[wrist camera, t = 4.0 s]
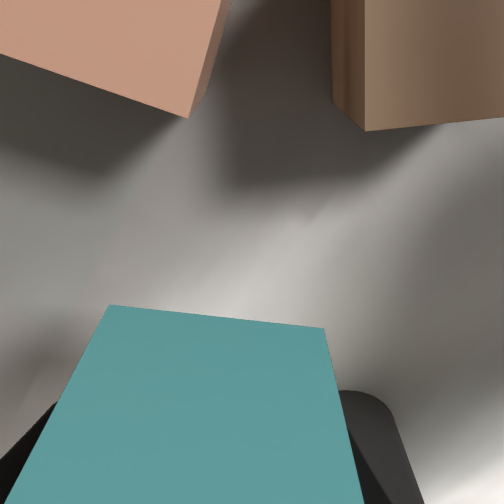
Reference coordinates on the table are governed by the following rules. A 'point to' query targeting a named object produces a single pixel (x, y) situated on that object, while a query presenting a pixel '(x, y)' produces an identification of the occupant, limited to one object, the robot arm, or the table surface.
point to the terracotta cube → (121, 44)
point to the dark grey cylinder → (380, 445)
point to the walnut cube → (417, 61)
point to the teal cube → (195, 417)
